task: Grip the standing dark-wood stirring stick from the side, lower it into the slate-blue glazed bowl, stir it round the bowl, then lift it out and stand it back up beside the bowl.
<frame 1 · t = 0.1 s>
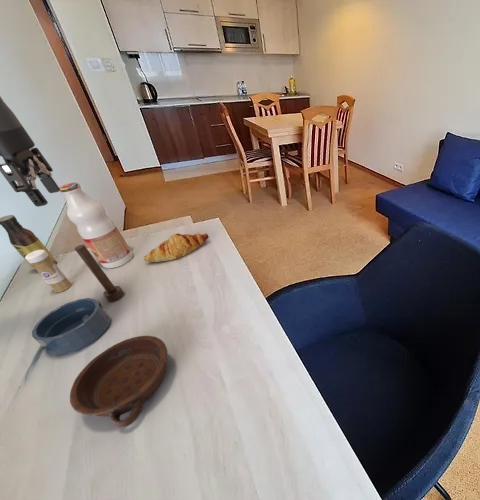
hand: (49, 198, 73), 31 cm above the table, tool pointing down, fingers open, 8 cm apart
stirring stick: (116, 296, 89), on the table
sauce bottle: (47, 267, 106), on the table
fruit juice: (119, 261, 105), on the table
bowl: (81, 333, 78), on the table
croissant: (179, 252, 106), on the table
dish: (132, 383, 65), on the table
sprinkles bottle: (64, 288, 95), on the table
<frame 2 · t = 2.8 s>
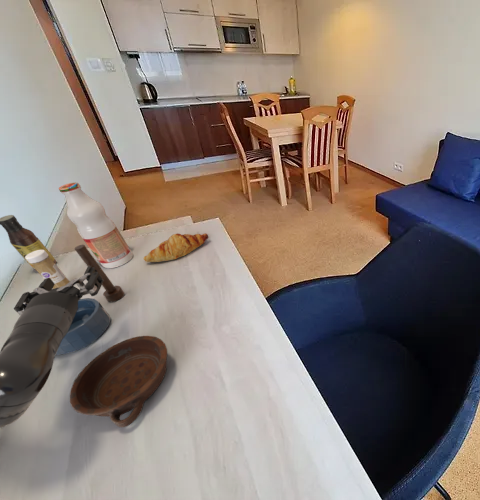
hand: (71, 274, 71), 16 cm above the table, tool horizontal, fingers open, 8 cm apart
nothing on the table moved.
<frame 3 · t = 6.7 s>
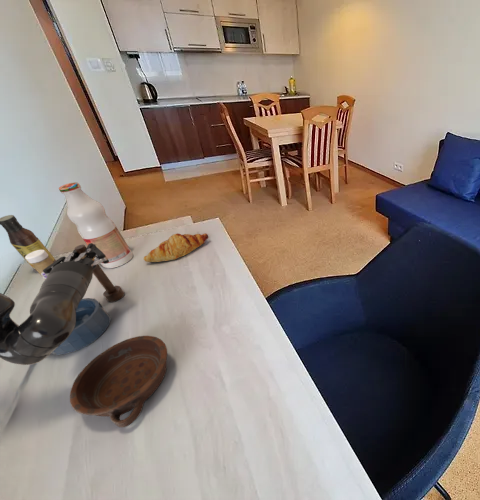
hand: (86, 247, 82), 16 cm above the table, tool horizontal, fingers closed on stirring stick, 2 cm apart
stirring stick: (116, 296, 89), on the table, touching gripper
everything else where it was.
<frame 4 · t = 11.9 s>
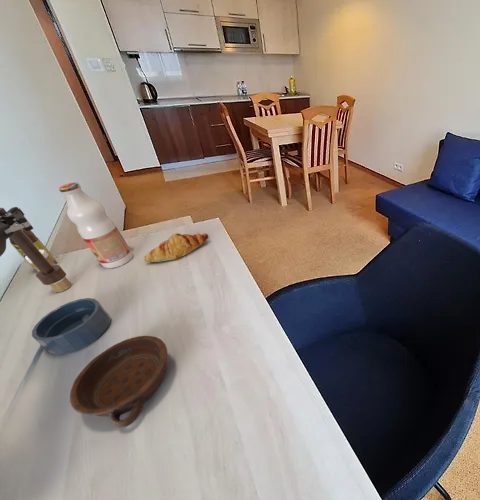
hand: (9, 213, 64), 32 cm above the table, tool horizontal, fingers closed on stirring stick
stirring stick: (54, 278, 70), point 17 cm above the table, touching gripper
everything else where it was.
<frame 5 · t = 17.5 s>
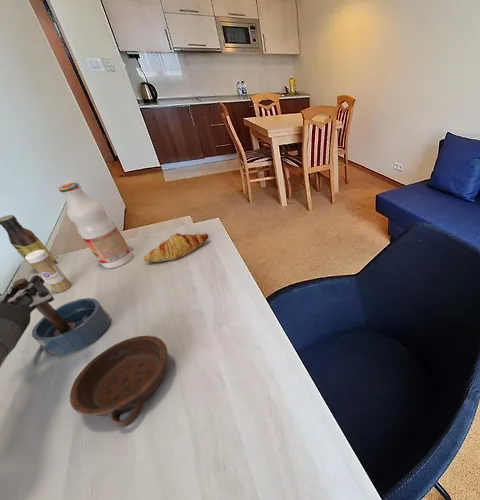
hand: (31, 280, 69), 17 cm above the table, tool horizontal, fingers closed on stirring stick, 2 cm apart
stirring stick: (70, 335, 76), point 1 cm above the table, touching gripper
everything else where it was.
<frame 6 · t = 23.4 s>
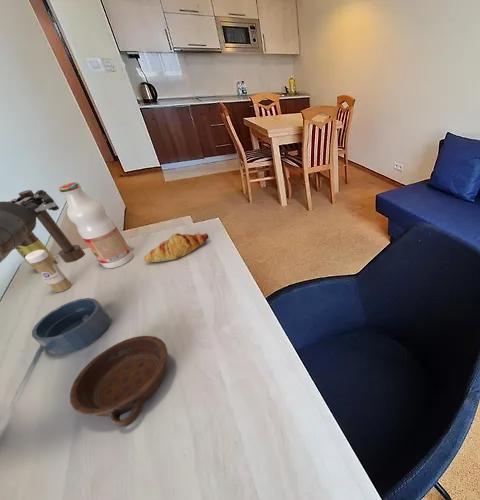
hand: (36, 195, 70), 33 cm above the table, tool horizontal, fingers closed on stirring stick
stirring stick: (74, 257, 77), point 17 cm above the table, touching gripper
everything else where it was.
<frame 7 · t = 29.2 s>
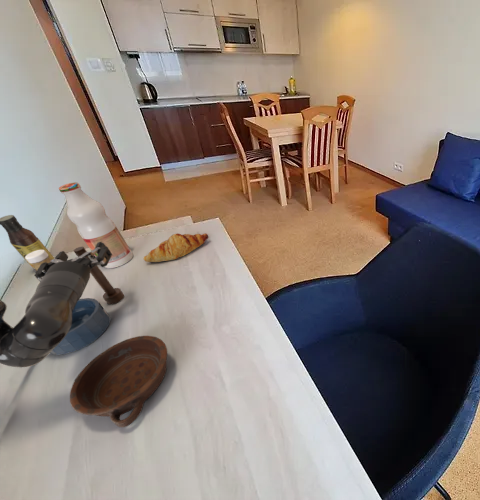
hand: (83, 249, 80), 17 cm above the table, tool horizontal, fingers open, 8 cm apart
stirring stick: (116, 299, 88), on the table
everything else where it was.
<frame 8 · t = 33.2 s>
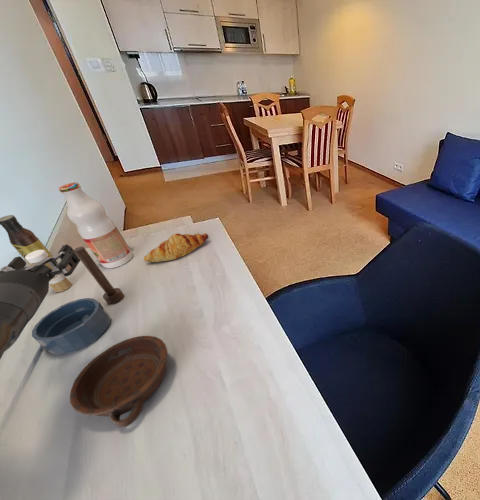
hand: (45, 254, 65), 24 cm above the table, tool horizontal, fingers open, 8 cm apart
nothing on the table moved.
at the end: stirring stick inside the target area (0.1 cm from its centre), on the table; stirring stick tilted 0°; the gripper is holding nothing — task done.
